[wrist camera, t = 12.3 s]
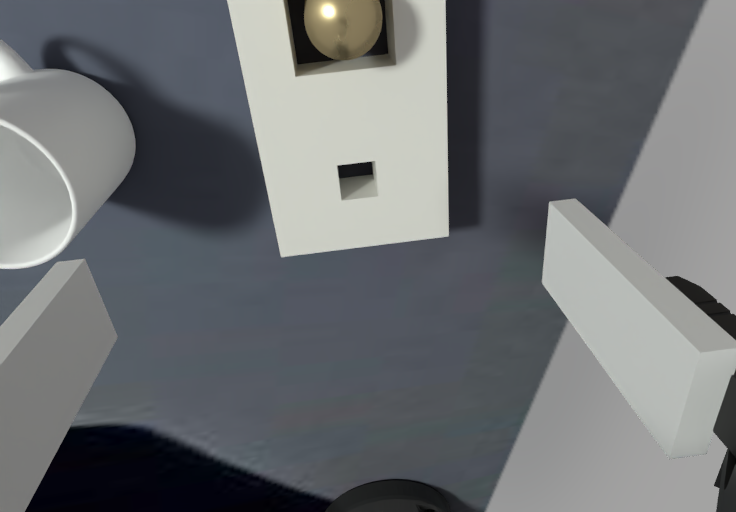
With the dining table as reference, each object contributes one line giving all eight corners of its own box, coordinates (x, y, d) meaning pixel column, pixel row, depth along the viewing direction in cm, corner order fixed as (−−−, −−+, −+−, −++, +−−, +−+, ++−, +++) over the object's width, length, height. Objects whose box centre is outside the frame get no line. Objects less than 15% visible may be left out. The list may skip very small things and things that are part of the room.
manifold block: (437, 212, 40) (448, 236, 37) (284, 230, 40) (281, 257, 36) (429, -98, 30) (444, -104, 26) (222, -76, 30) (210, -80, 26)
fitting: (374, 39, 33) (387, 57, 27) (310, 46, 33) (308, 66, 27) (368, -35, 31) (381, -33, 25) (299, -28, 31) (296, -24, 25)
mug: (66, -12, 31) (-42, 3, 21) (162, 171, 37) (110, 244, 27) (-65, 33, 31) (-225, 66, 22) (51, 205, 37) (-37, 288, 28)
